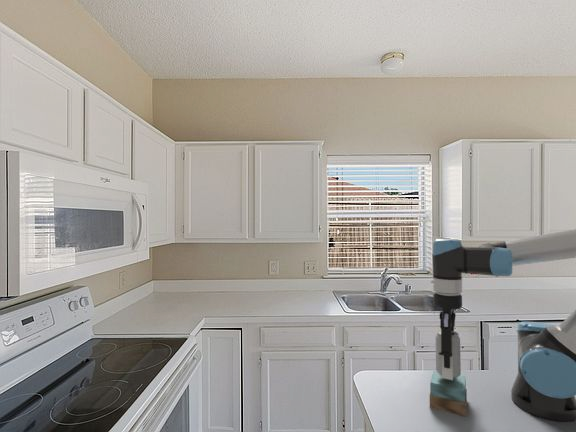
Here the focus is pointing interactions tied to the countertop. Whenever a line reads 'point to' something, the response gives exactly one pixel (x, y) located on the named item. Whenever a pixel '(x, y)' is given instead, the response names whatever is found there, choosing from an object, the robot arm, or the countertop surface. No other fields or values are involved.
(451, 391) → the teal and brown block
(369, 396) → the countertop surface
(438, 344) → the beverage can
